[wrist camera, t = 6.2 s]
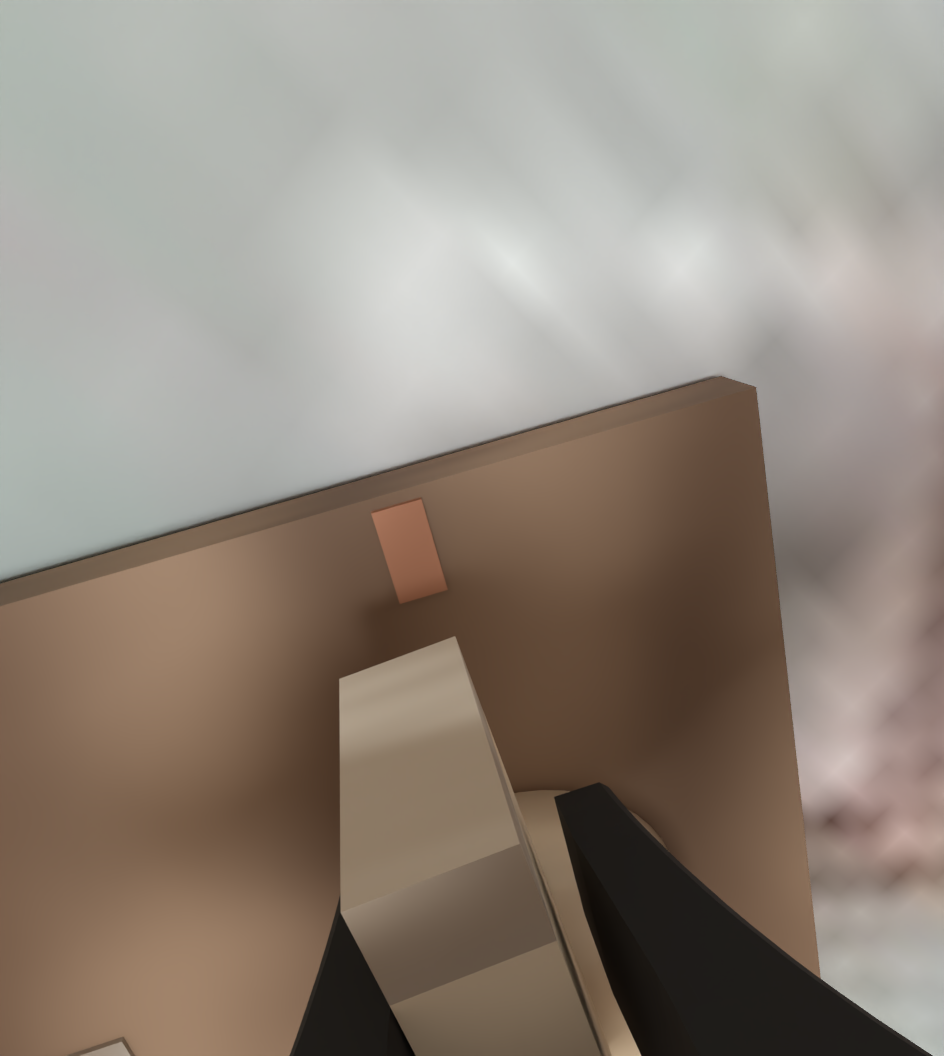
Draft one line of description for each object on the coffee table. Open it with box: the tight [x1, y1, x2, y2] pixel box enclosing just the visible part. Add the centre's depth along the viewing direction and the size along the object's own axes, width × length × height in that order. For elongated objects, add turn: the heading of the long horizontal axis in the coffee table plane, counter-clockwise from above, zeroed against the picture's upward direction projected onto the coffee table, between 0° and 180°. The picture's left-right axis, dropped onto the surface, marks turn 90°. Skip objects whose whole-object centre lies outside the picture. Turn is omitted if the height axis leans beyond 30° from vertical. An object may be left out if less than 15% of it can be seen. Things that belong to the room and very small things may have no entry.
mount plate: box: [0, 376, 821, 1056], centre depth 15 cm, size 16×16×1 cm
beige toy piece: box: [339, 636, 669, 1056], centre depth 11 cm, size 11×6×6 cm, turn 18°
